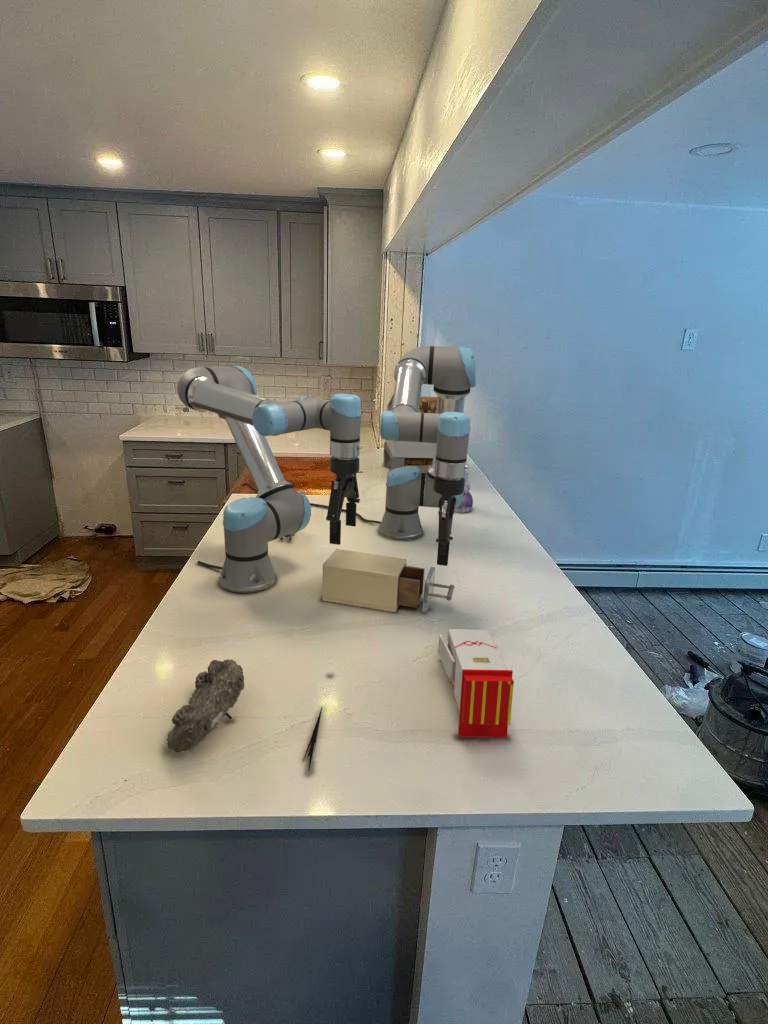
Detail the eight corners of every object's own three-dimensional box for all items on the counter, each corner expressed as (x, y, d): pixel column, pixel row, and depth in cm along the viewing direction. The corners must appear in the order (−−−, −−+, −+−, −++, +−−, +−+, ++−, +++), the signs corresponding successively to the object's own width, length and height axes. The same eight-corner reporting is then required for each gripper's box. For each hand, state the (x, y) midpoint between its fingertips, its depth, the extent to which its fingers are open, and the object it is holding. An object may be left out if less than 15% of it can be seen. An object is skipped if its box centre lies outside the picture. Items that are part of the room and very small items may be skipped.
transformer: (382, 463, 289) (386, 382, 275) (445, 464, 293) (451, 384, 279) (390, 482, 257) (394, 392, 243) (460, 483, 261) (468, 394, 247)
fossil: (192, 660, 117) (244, 628, 112) (224, 691, 120) (276, 661, 115) (142, 746, 98) (202, 712, 93) (182, 779, 101) (242, 748, 96)
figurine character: (295, 547, 188) (300, 526, 202) (294, 527, 185) (300, 506, 198) (274, 546, 188) (281, 525, 201) (273, 526, 185) (280, 506, 198)
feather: (331, 679, 122) (336, 673, 122) (307, 777, 96) (313, 769, 95) (324, 675, 122) (329, 669, 121) (298, 772, 95) (304, 764, 95)
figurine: (459, 514, 221) (463, 477, 216) (445, 506, 229) (448, 470, 224) (479, 511, 225) (483, 475, 220) (464, 503, 234) (467, 468, 228)
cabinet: (404, 592, 159) (406, 558, 155) (395, 612, 148) (397, 576, 145) (335, 582, 163) (336, 548, 159) (322, 600, 153) (322, 564, 149)
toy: (488, 613, 130) (523, 677, 101) (484, 667, 133) (517, 744, 104) (435, 612, 130) (455, 676, 101) (432, 666, 133) (451, 743, 103)
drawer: (454, 598, 155) (456, 570, 152) (449, 616, 145) (451, 586, 143) (366, 584, 160) (367, 557, 157) (356, 601, 151) (357, 572, 148)
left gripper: (343, 470, 131) (342, 554, 139) (371, 447, 154) (369, 520, 162) (313, 467, 133) (313, 550, 140) (345, 444, 156) (344, 517, 163)
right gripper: (461, 485, 132) (453, 576, 140) (467, 471, 144) (459, 556, 152) (430, 482, 134) (423, 572, 142) (438, 468, 145) (432, 552, 153)
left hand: (343, 534), depth 151 cm, fingers open, 13 cm apart
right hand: (442, 564), depth 147 cm, fingers closed
